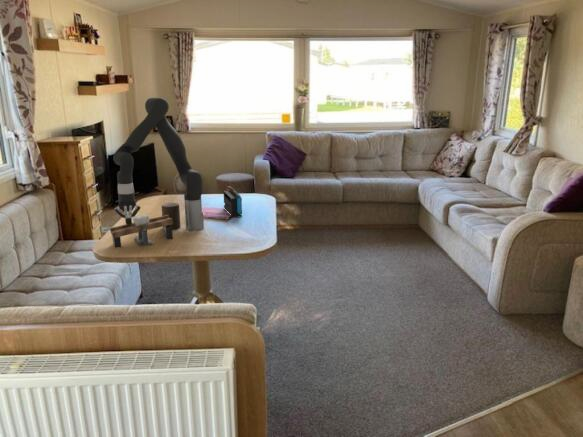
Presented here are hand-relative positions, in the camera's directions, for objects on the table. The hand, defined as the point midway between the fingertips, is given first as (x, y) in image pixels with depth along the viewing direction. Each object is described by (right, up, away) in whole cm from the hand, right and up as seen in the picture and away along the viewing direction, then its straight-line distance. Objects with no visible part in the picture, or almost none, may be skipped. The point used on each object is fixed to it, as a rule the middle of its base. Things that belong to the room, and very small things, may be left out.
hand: (128, 224), depth 238 cm
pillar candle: (+15, -2, +28) cm, 32 cm away
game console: (+46, +7, +57) cm, 73 cm away
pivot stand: (+6, -9, +6) cm, 12 cm away
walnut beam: (+6, -1, +4) cm, 7 cm away
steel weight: (+6, 0, +3) cm, 7 cm away
